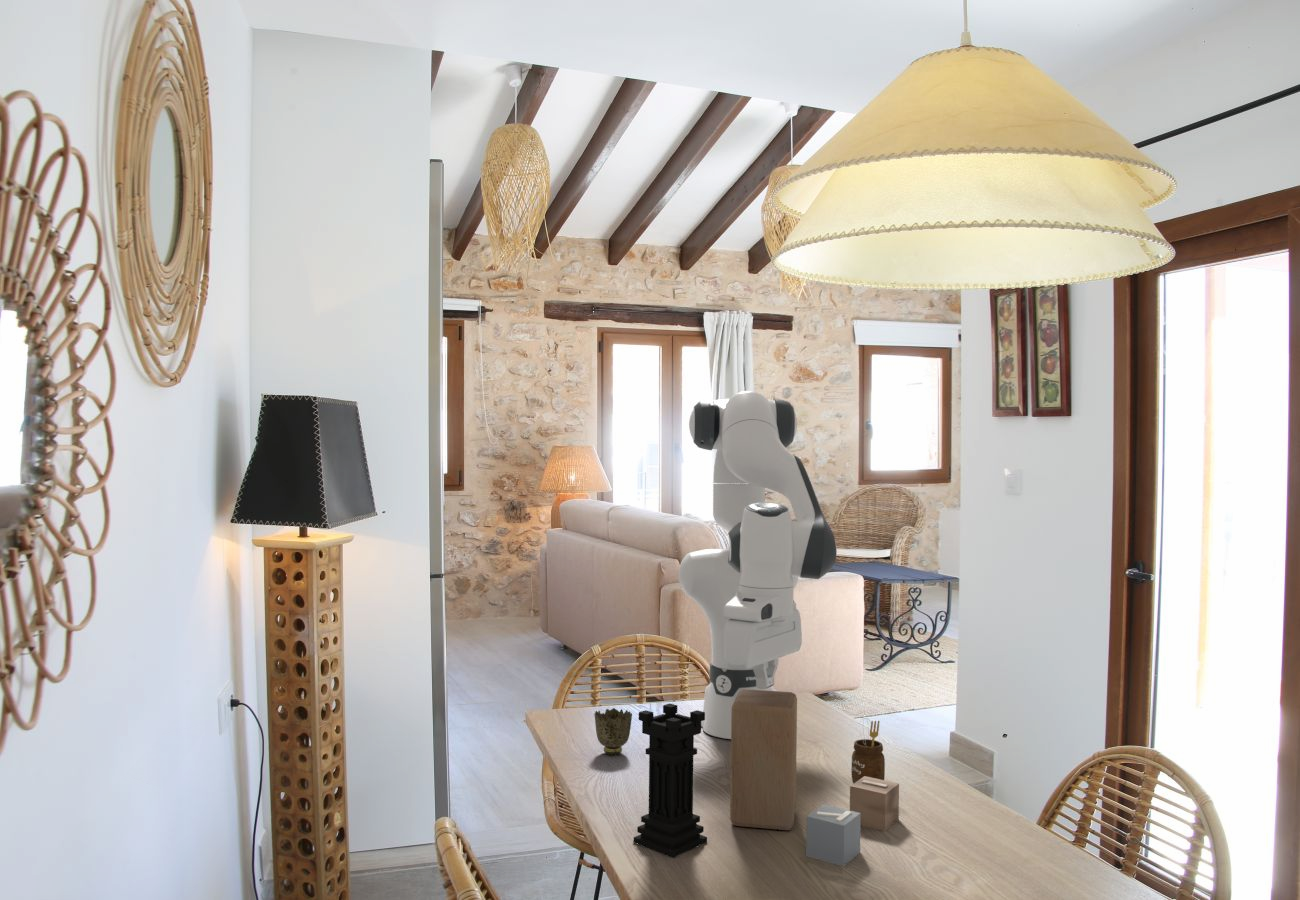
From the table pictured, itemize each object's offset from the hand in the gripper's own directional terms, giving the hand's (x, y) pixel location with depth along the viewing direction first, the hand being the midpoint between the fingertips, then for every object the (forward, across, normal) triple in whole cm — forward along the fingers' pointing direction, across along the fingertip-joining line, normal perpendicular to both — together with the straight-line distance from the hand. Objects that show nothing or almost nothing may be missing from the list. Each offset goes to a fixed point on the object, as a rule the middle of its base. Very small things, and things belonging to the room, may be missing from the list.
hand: (765, 687), depth 159 cm
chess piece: (+22, +17, -7) cm, 28 cm away
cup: (+22, -12, -40) cm, 47 cm away
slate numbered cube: (+22, +6, +15) cm, 27 cm away
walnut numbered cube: (+22, -10, +15) cm, 28 cm away
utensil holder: (+22, -27, +7) cm, 35 cm away
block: (+22, 0, 0) cm, 22 cm away
